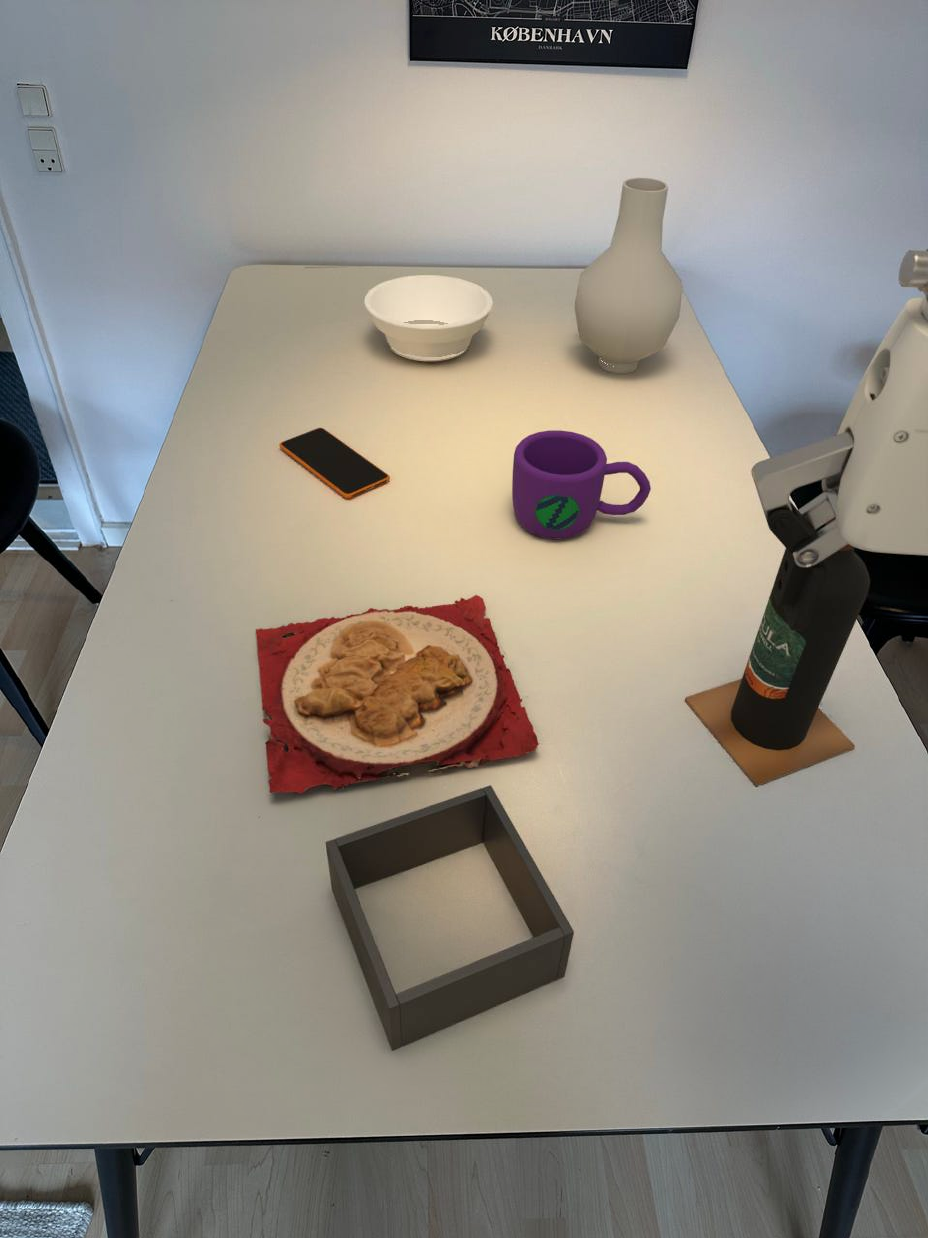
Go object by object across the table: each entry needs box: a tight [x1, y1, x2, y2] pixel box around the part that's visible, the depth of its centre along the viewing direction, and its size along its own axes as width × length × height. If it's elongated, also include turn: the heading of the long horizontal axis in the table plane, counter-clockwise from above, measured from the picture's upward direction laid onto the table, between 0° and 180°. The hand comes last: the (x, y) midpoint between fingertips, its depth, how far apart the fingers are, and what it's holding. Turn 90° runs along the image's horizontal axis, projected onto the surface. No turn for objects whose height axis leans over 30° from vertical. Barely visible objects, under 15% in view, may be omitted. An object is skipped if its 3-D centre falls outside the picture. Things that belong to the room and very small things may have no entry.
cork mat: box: [684, 678, 856, 787], centre depth 91 cm, size 12×12×1 cm
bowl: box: [363, 274, 494, 362], centre depth 150 cm, size 21×21×8 cm
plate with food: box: [255, 594, 541, 794], centre depth 92 cm, size 24×26×3 cm
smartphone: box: [278, 427, 391, 499], centre depth 125 cm, size 8×17×1 cm, turn 41°
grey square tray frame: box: [325, 784, 575, 1051], centre depth 72 cm, size 15×15×7 cm
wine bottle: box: [731, 517, 871, 750], centre depth 81 cm, size 8×8×30 cm
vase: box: [574, 177, 684, 374], centre depth 140 cm, size 17×16×28 cm
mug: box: [511, 429, 652, 540], centre depth 113 cm, size 17×11×10 cm, turn 86°
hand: (885, 617), depth 46 cm, fingers open, 9 cm apart
